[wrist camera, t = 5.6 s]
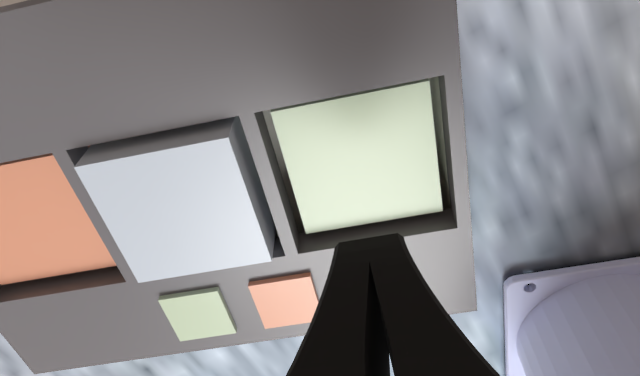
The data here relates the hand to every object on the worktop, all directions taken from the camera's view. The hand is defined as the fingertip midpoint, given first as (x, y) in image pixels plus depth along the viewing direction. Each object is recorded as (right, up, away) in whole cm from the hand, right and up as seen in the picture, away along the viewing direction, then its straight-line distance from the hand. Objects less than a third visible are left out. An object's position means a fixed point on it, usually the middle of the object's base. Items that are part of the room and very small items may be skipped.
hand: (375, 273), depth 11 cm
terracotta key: (-10, +2, +7) cm, 12 cm away
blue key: (-5, +2, +5) cm, 8 cm away
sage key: (0, +4, +6) cm, 7 cm away
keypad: (-5, +4, +8) cm, 10 cm away
